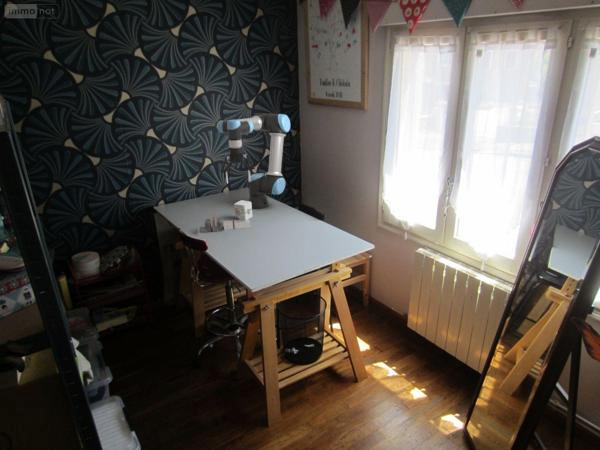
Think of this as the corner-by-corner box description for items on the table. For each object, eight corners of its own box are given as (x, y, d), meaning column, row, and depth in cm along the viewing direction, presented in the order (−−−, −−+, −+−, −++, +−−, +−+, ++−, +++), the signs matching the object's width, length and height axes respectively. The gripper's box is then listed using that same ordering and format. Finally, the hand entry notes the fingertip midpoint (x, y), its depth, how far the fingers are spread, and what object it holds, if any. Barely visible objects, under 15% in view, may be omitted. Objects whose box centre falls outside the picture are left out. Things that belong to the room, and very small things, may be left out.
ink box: (234, 220, 272) (233, 203, 268) (242, 216, 279) (241, 199, 275) (245, 222, 268) (244, 205, 264) (253, 218, 275) (251, 201, 271)
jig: (252, 225, 263) (251, 211, 259) (253, 230, 254) (252, 216, 251) (201, 229, 259) (199, 215, 255) (200, 235, 250) (198, 221, 247)
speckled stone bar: (250, 225, 260) (249, 218, 258) (250, 227, 256) (249, 221, 255) (224, 227, 258) (223, 221, 256) (224, 229, 254) (223, 223, 252)
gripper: (255, 144, 250) (258, 178, 258) (213, 147, 244) (217, 182, 252) (257, 146, 243) (260, 181, 251) (214, 149, 238) (218, 185, 245)
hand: (238, 182), depth 251 cm, fingers open, 13 cm apart
